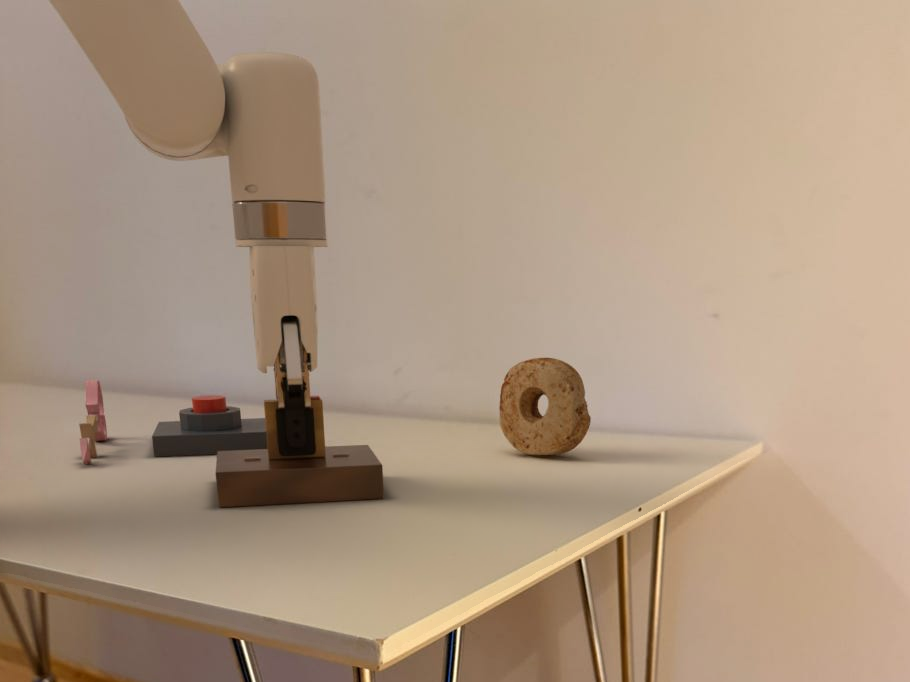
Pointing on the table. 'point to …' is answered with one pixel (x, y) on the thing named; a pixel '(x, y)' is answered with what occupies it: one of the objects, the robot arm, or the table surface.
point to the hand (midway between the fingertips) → (296, 450)
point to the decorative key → (92, 421)
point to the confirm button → (209, 404)
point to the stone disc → (563, 414)
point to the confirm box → (208, 433)
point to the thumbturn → (272, 429)
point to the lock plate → (298, 477)
